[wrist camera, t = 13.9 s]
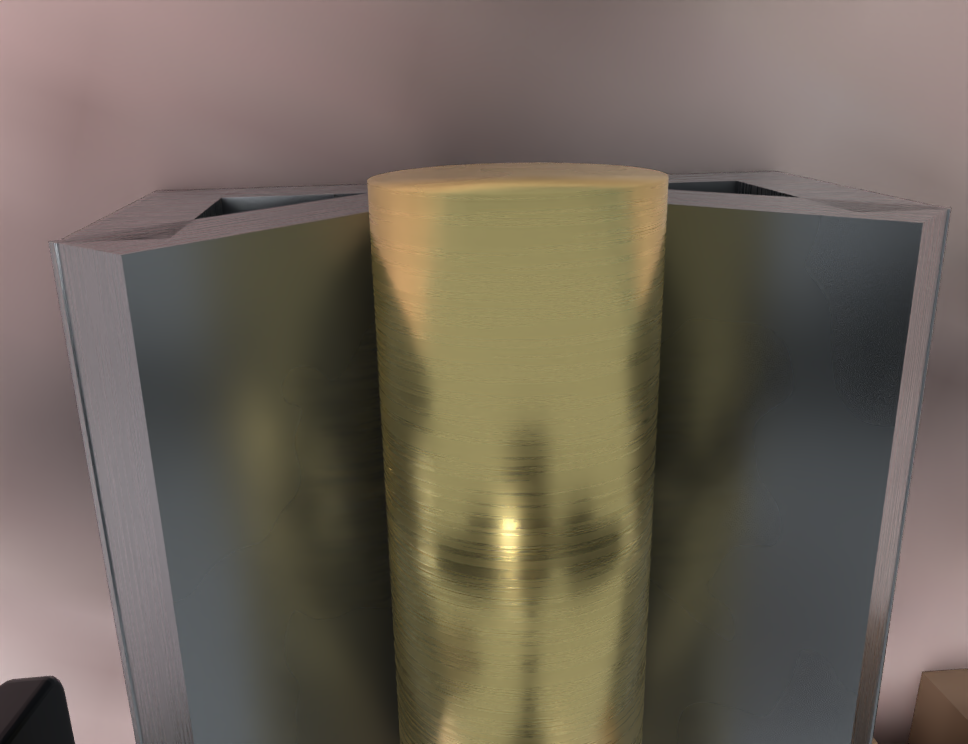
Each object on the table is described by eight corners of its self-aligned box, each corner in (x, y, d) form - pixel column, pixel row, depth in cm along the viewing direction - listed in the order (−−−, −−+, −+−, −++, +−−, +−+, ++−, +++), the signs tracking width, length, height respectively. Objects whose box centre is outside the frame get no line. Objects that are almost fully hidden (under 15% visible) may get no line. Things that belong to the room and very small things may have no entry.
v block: (740, 645, 15) (896, 881, 11) (217, 695, 14) (148, 979, 10) (781, 170, 13) (1010, 219, 8) (148, 191, 12) (13, 260, 7)
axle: (594, 766, 13) (671, 948, 11) (396, 799, 13) (423, 998, 10) (610, 159, 11) (721, 186, 8) (358, 168, 10) (378, 201, 7)
